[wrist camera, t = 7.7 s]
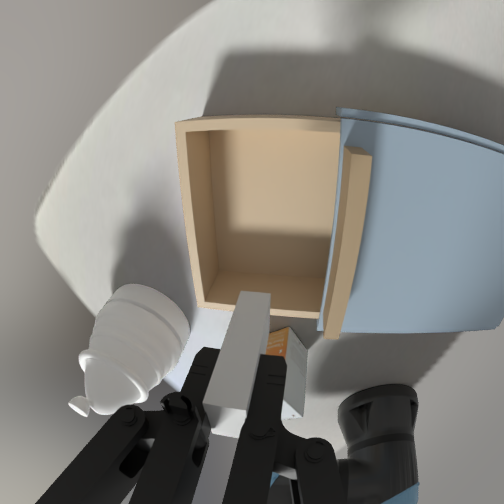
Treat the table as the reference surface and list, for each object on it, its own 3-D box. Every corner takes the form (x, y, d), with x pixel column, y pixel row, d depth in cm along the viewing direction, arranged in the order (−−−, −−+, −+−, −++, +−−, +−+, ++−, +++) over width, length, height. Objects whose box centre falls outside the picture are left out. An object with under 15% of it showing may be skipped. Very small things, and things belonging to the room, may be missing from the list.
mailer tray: (405, 285, 29) (419, 321, 23) (214, 272, 32) (197, 307, 27) (437, 134, 20) (469, 146, 15) (201, 116, 23) (174, 122, 18)
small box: (290, 324, 34) (282, 396, 25) (308, 350, 36) (305, 418, 27) (237, 340, 37) (219, 405, 28) (258, 364, 39) (245, 425, 30)
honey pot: (100, 304, 39) (38, 389, 24) (139, 268, 34) (58, 376, 18) (158, 356, 43) (115, 446, 28) (208, 333, 38) (164, 450, 22)
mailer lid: (486, 313, 24) (505, 349, 19) (316, 310, 27) (316, 357, 22) (537, 159, 14) (575, 179, 9) (336, 107, 18) (350, 108, 13)
